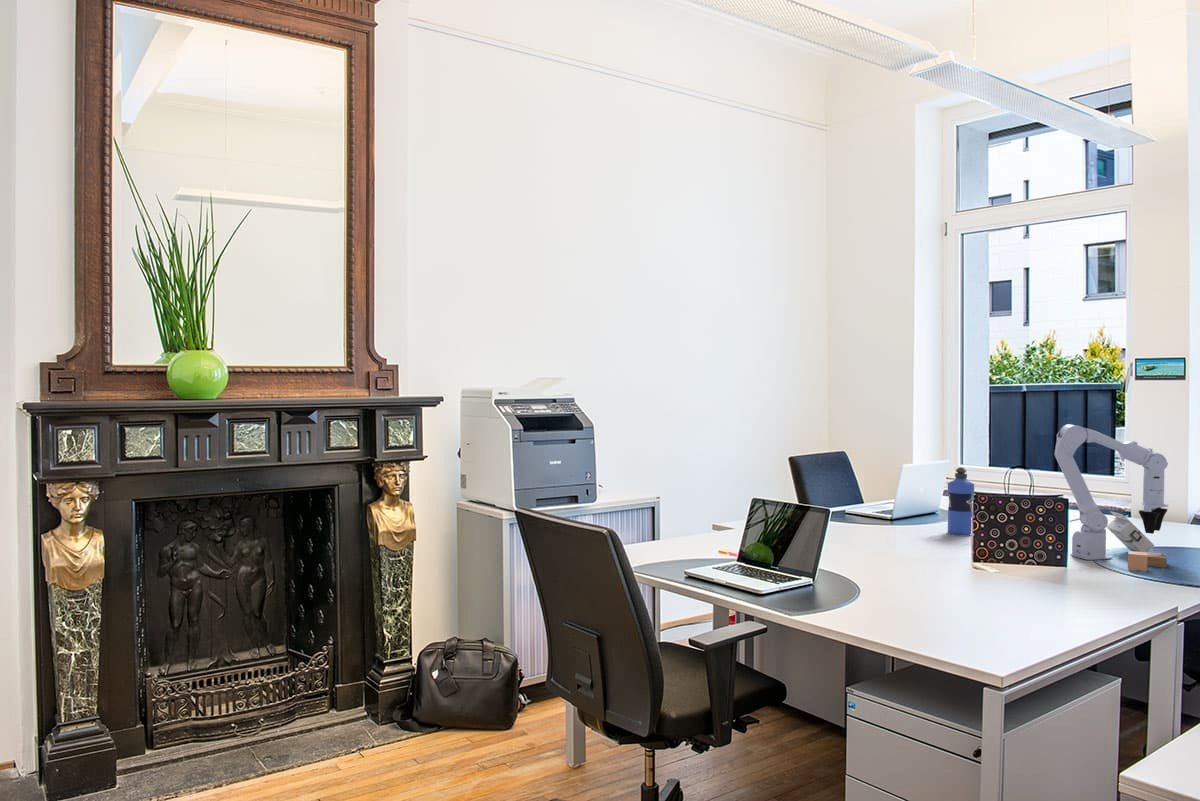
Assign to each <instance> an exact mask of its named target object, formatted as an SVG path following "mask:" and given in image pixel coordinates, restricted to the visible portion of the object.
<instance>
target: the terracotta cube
mask: <svg viewBox="0 0 1200 801" xmlns="http://www.w3.org/2000/svg"><path fill="white" fill-rule="evenodd" d="M1127 552H1128V553H1127V570H1128V569H1131V570H1130V571H1136V570H1141V571H1140V572H1146V571H1147V572H1148V566H1147V553H1145V552H1134V551H1130V550H1128V551H1127Z"/></svg>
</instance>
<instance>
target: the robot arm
mask: <svg viewBox="0 0 1200 801" xmlns="http://www.w3.org/2000/svg"><path fill="white" fill-rule="evenodd" d="M1084 443H1096V444H1099V445H1102V446H1104V447H1106V448H1108V449H1111V450H1114V451H1116V452H1118V455H1119V457H1120V458H1122V459H1124V460H1126V461H1129V462H1131V463H1134V464H1137V465H1138V466H1141V467H1143V480H1142V481H1143V486H1142V489H1143V490H1142V491H1143V492H1142V503H1141V505H1142V506H1143V510H1141V509H1140V510H1138V514H1139V515H1140V518H1141V521H1142V522H1143V523H1142V524H1143V528H1144V532H1145V534H1151V535H1152V534H1154V533H1155V531H1157V532H1160V530H1161V528H1162V523H1163V520H1164V517H1165V515H1166V513H1167V512H1168V507H1169V504H1168V503H1165V470H1166V469H1167V467H1168V465H1169V462H1168V460H1167V459H1166V457H1165V456H1164V455H1163V454H1161V453H1158V452H1155V451H1154V450H1153V449H1152V448H1146V447H1144V446H1141V445H1139V443H1138V442H1136V441H1135V440H1134V441H1130V440H1127V441H1125V442H1123V441H1119V440H1116V438H1115V439H1114V437H1110V436H1109V435H1106V434H1104V433H1101V432H1099V431H1097V430H1093V429H1090V428H1086V427H1082V426H1080V425H1075V424H1072V423H1067V424H1065V425H1063V426H1062V427H1060V429H1059V430H1058V432H1057V434H1056V442H1055V449H1054V457H1055V459H1056V461H1057V463H1058V465H1059V467H1060V469H1061V472H1062V474H1063V476H1064V478H1065V480H1066V483H1067V485H1068V487H1069V489H1070V491H1071V493H1072V495H1073V498H1074V500H1075V502H1076V504H1077V509H1078V512H1079V521H1080V523H1081V524H1082V526H1080V530H1079V531H1075V532H1073V534H1072V537H1071V538H1072V539H1071V540H1072V541H1071V544H1072V545H1071V553H1070V554H1069V555H1070V556H1072V557H1075V558H1078V559H1081V560H1082V559H1083V560H1087V561H1093V560H1094V561H1095V560H1096V561H1097V560H1110V559H1113V557H1112V556H1110V555H1109V556H1108V555H1106V554H1107V553H1106V552H1107V551H1106V549H1107V543H1106V542H1107V525H1108V524H1109V519H1108V517H1107V515H1105V514H1104V513H1103V512H1102V511H1101V510H1100V507H1099V506H1098V504H1097V503H1096V502H1095V500H1094V499H1093V496H1092V494H1091V491H1090V490H1089V488H1088V485H1087V484H1086V480H1085V479H1084V477H1083V475H1082V473H1081V470H1080V469H1079V466H1078V464H1077V462H1076V460H1075V458H1074V455H1075V453H1076V451H1077V449H1078V448H1079V447H1081V445H1082V444H1084Z"/></svg>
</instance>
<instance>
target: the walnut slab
mask: <svg viewBox="0 0 1200 801" xmlns="http://www.w3.org/2000/svg"><path fill="white" fill-rule="evenodd" d="M1137 552H1140V551H1137ZM1145 553H1147V567H1152V566H1153V568H1154V567H1155V568H1164V569H1165V568H1167V566H1168V565H1167V564H1168V563H1167V561H1168V558H1167V553H1161V552H1150V551H1149V552H1145Z"/></svg>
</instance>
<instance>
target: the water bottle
mask: <svg viewBox="0 0 1200 801" xmlns="http://www.w3.org/2000/svg"><path fill="white" fill-rule="evenodd" d="M967 477H968V474H967V470H966V468H965V467H957V469H955V473H954V479H953V480H951V481H949V482H947V494H948V509H947V534H948V533H950V534H949V535H952V534H954V536H960V535H969V536H971V535H970V534H971V517H972V504H973V503H972V501H974V495H975V494H974V493H975V483H973V482H971V481H969V480H968V479H967ZM969 536H968V537H969Z"/></svg>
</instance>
